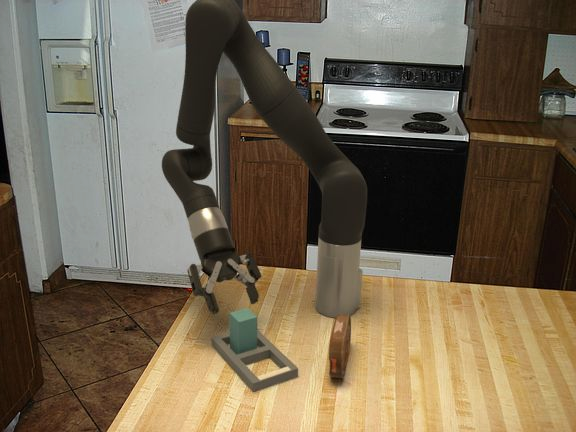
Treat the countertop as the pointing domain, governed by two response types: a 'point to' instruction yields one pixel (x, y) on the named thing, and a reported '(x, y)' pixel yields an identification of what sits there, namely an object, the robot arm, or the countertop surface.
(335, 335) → the tin
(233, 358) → the frame
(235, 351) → the block
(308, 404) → the countertop surface
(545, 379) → the countertop surface
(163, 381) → the countertop surface
